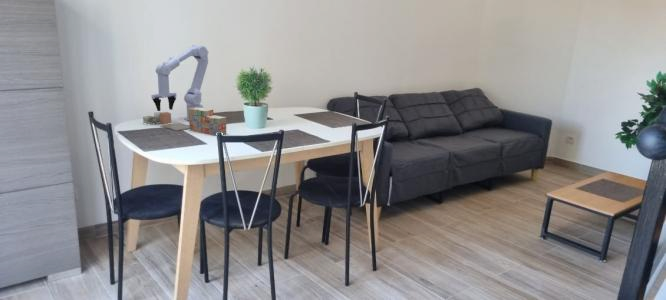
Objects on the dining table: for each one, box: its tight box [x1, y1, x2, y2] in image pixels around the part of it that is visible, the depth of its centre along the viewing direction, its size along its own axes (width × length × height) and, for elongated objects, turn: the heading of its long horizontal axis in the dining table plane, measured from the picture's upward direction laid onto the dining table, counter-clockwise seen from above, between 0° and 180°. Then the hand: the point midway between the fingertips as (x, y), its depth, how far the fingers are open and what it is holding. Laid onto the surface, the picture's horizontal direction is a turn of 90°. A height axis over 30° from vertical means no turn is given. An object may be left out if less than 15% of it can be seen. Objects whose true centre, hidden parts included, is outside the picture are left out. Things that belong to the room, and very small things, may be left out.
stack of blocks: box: [188, 107, 227, 136], centre depth 256 cm, size 21×6×12 cm, turn 60°
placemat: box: [160, 122, 190, 132], centre depth 267 cm, size 12×16×1 cm
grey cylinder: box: [153, 111, 163, 123], centre depth 280 cm, size 5×5×5 cm
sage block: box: [142, 115, 157, 125], centre depth 274 cm, size 5×5×4 cm
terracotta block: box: [159, 111, 172, 125], centre depth 276 cm, size 4×4×6 cm
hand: (164, 110), depth 274 cm, fingers open, 7 cm apart
